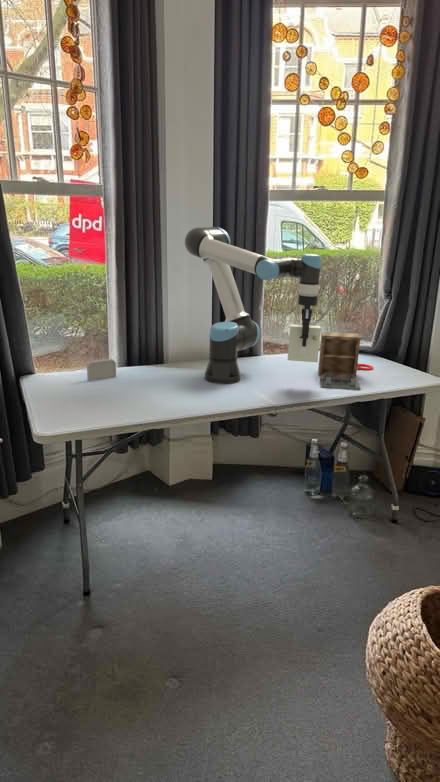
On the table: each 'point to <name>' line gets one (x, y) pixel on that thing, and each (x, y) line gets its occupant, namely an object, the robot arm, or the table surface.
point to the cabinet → (338, 354)
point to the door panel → (311, 346)
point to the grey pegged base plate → (339, 382)
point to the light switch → (101, 369)
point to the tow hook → (364, 365)
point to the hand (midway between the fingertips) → (303, 352)
